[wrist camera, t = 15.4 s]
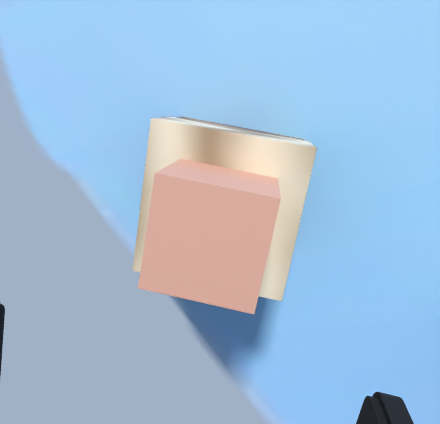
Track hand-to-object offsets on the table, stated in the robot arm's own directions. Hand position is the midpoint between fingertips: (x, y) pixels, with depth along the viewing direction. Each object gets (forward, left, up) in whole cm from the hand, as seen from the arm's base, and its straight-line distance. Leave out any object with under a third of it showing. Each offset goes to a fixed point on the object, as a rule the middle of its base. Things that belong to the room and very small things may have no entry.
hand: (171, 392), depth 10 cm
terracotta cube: (+1, 0, -16) cm, 16 cm away
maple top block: (+1, 0, -21) cm, 21 cm away
